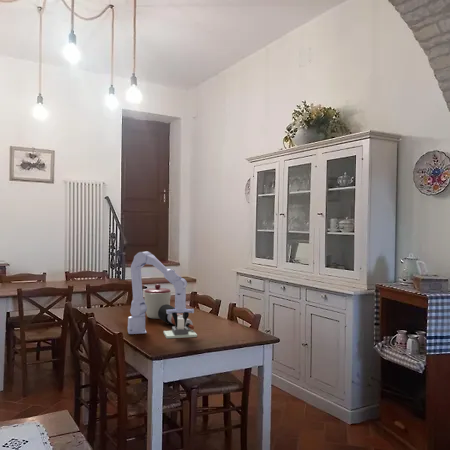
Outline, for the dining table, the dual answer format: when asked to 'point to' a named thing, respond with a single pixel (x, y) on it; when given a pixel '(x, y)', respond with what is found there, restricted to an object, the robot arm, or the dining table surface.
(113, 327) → the dining table surface
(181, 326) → the plug
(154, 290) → the canister
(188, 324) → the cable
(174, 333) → the board
